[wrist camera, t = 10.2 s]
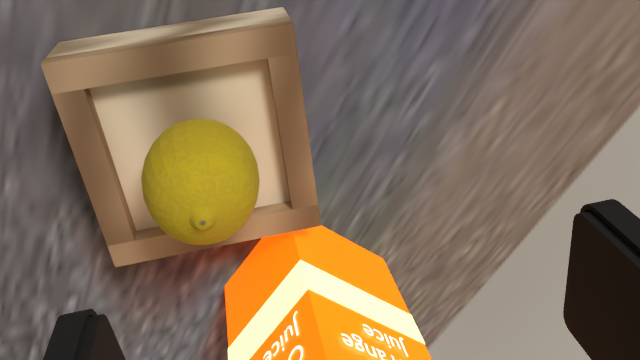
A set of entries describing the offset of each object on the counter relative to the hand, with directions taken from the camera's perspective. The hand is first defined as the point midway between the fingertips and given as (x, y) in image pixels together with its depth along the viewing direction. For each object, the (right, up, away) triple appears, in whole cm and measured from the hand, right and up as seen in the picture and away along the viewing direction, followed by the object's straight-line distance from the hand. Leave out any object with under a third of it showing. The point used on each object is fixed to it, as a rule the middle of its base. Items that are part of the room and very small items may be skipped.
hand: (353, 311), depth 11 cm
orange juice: (-2, -4, +29) cm, 29 cm away
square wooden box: (-8, +6, +22) cm, 24 cm away
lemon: (-7, +5, +20) cm, 22 cm away
